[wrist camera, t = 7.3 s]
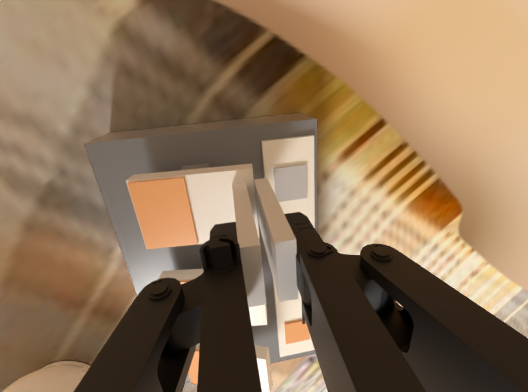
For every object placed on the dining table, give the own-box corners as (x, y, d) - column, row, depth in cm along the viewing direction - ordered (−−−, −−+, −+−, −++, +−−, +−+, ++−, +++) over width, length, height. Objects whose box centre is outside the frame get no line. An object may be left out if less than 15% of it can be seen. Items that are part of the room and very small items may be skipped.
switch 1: (258, 229, 17) (259, 239, 16) (152, 240, 17) (145, 250, 16) (251, 163, 15) (252, 169, 14) (133, 174, 15) (124, 181, 14)
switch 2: (267, 313, 20) (267, 327, 19) (176, 318, 20) (171, 331, 19) (262, 264, 18) (261, 276, 17) (162, 270, 18) (156, 282, 17)
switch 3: (272, 384, 22) (269, 399, 21) (196, 370, 23) (190, 383, 22) (268, 347, 20) (265, 361, 19) (186, 334, 22) (179, 347, 21)
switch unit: (304, 320, 29) (321, 365, 25) (175, 346, 28) (166, 399, 23) (299, 112, 21) (323, 121, 16) (109, 132, 19) (73, 148, 14)
